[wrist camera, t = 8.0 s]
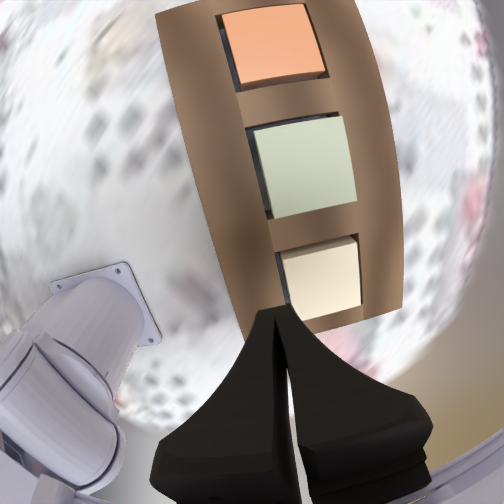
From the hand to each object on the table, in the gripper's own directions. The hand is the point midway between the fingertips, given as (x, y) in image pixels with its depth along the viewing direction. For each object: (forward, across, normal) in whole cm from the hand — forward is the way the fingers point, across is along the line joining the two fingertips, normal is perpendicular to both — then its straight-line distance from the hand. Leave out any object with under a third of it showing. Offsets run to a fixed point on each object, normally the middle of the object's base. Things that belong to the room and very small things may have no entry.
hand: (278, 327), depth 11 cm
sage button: (+9, -3, -5) cm, 11 cm away
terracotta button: (+10, -3, -13) cm, 17 cm away
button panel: (+10, -3, -5) cm, 12 cm away
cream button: (+10, -3, +3) cm, 11 cm away
